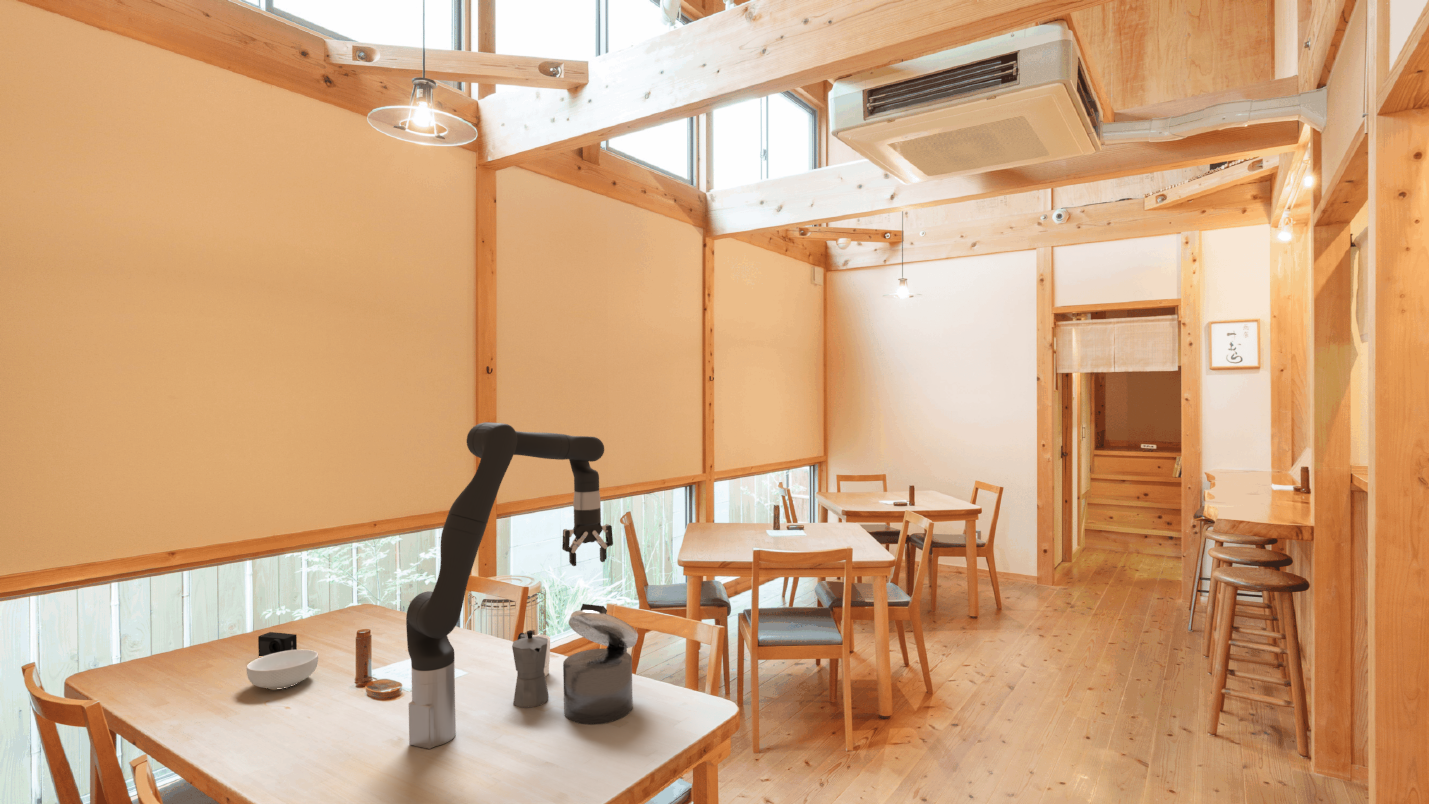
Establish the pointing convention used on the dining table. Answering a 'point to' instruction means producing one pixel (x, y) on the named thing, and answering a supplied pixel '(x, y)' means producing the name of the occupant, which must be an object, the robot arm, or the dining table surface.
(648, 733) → the dining table surface
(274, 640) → the digital camera
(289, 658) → the cereal bowl
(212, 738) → the dining table surface
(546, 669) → the white cup
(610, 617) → the lid
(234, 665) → the dining table surface
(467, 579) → the robot arm
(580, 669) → the pot
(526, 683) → the coffeepot
